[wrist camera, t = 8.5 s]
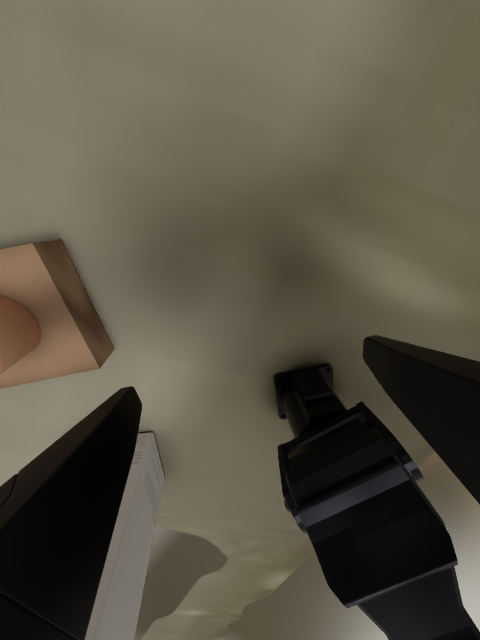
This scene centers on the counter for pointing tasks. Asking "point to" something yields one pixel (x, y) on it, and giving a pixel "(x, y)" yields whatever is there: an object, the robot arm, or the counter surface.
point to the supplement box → (129, 548)
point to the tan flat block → (52, 313)
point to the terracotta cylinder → (16, 333)
